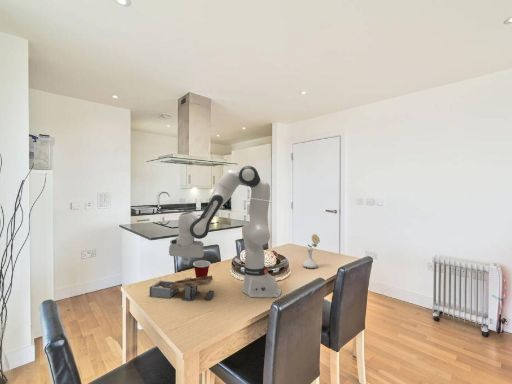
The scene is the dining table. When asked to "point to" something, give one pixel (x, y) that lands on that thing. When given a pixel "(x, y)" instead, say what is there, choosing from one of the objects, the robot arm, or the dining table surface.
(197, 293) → the fulcrum
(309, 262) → the flower in vase
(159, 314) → the dining table surface
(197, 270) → the plastic cup
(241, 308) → the dining table surface
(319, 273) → the dining table surface
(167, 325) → the dining table surface
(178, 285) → the lever
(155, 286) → the grey open box
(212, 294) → the rest block
